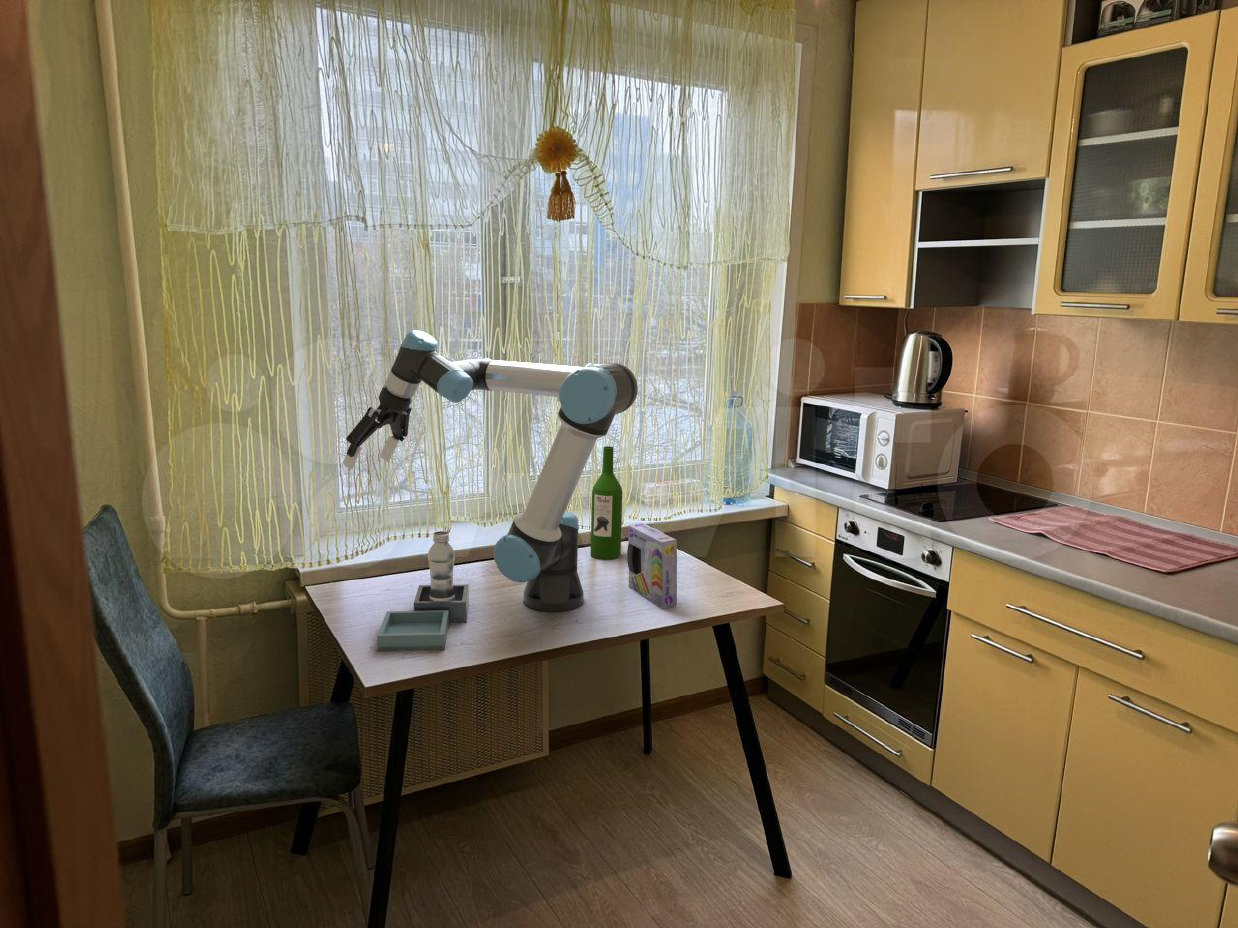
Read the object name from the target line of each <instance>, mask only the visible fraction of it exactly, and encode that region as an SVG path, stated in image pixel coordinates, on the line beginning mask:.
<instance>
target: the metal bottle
mask: <svg viewBox="0 0 1238 928" xmlns="http://www.w3.org/2000/svg"><path fill="white" fill-rule="evenodd" d="M432 541H433V544H432V545H431V546H430V548H429V549H428V553H427V560H428V567H429V575H430V585H431V586H430V596H429V601H456V599H455V594H454V587H453V585H454V566H455V559H456V552H455V550H454V548H453V547H452V545H451V544H450V543H449V541H450V533H449V531H445V530H438V531H434V532H433V538H432Z"/></svg>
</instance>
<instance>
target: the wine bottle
mask: <svg viewBox="0 0 1238 928" xmlns="http://www.w3.org/2000/svg"><path fill="white" fill-rule="evenodd" d="M622 487H623V486H621V484H620V482H619V480H618V479H617V477H616V476H615V473H614V447H613V446H611V445H610V446H603V449H602V470H601V474H600V475H599V477H598V478H597V480H596V481H595V483H594V485H593V487H592V490H591V514H590V515H591V516H590V517H591V518H590V556H591V558H593V559H596V560H600V561H601V560H602V561H612V560H617V559H619V558H620V557H621V554H622V549H621V548H622V524H623V523H622V518H623V517H622V516H623V488H622Z"/></svg>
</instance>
